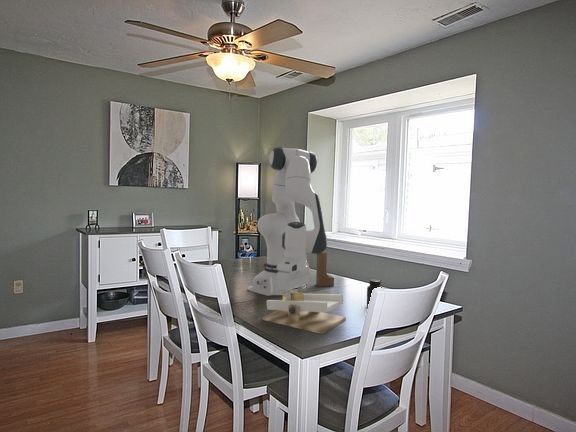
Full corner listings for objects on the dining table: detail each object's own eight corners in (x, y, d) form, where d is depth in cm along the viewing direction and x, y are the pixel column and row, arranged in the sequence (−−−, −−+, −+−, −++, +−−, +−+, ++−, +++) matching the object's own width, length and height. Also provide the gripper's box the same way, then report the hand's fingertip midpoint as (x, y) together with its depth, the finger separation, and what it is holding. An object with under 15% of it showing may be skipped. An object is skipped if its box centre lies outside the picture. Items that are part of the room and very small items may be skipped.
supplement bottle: (370, 303, 181) (372, 277, 180) (384, 307, 176) (386, 280, 176) (363, 307, 175) (364, 280, 175) (377, 310, 171) (378, 282, 170)
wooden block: (332, 284, 217) (333, 251, 216) (334, 286, 213) (335, 252, 212) (315, 284, 216) (317, 251, 215) (317, 286, 212) (318, 252, 210)
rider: (283, 303, 157) (282, 293, 157) (291, 300, 162) (290, 290, 162) (296, 304, 154) (295, 293, 154) (304, 300, 159) (303, 290, 159)
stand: (262, 319, 154) (262, 300, 154) (289, 307, 171) (290, 290, 170) (322, 334, 140) (323, 313, 140) (345, 319, 157) (346, 300, 157)
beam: (267, 309, 156) (266, 300, 156) (286, 301, 168) (286, 293, 168) (326, 312, 142) (325, 302, 142) (343, 303, 154) (342, 294, 154)
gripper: (301, 259, 167) (300, 291, 168) (274, 266, 150) (273, 302, 151) (314, 261, 164) (313, 294, 165) (288, 268, 147) (287, 305, 148)
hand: (294, 298), depth 158 cm, fingers closed on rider, 6 cm apart
